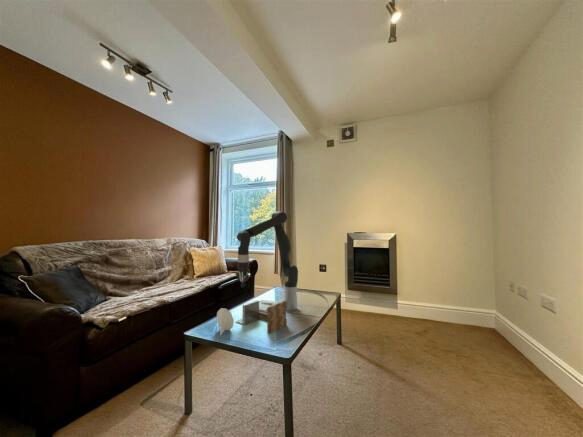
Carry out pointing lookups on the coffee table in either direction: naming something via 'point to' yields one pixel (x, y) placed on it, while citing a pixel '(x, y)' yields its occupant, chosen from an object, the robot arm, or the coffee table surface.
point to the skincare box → (265, 305)
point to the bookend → (250, 312)
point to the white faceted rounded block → (224, 320)
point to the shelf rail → (264, 317)
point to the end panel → (276, 316)
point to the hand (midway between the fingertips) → (242, 287)
